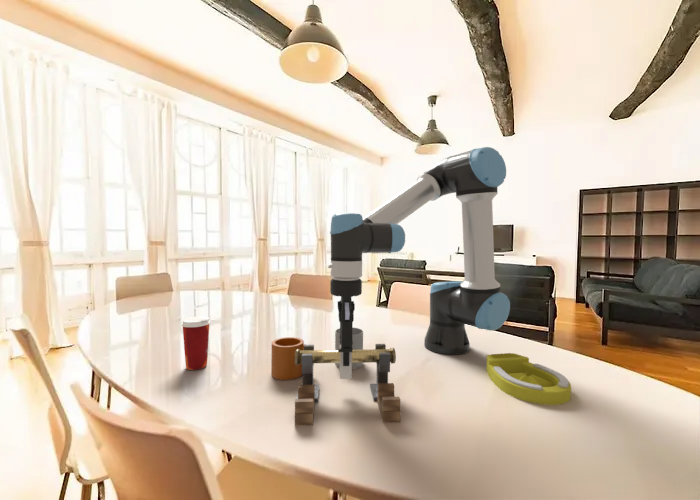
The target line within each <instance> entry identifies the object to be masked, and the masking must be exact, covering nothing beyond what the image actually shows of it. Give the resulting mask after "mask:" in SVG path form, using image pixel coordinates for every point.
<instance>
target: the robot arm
mask: <svg viewBox="0 0 700 500" xmlns="http://www.w3.org/2000/svg"><path fill="white" fill-rule="evenodd" d="M506 176H507V166H506V163H505V160H504V158H503V156H502V155H501V154H500V152H499V151H498V150H497V149H495V148H493V147H490V146H484V147H483V146H482V147H480V148H479V147H478V148H474V149H471V150H467V151H465V152H461V153H458V154H454V155H451V156H448V157H446V158H444V159H442V160H440V161H438V162H437V163H435V164H434V165H433V166H431V167H430V168H428V169H427V170H426V171H424V172H423V173H421V174H420V175H418V177H417V179H416V181H415V182H414V183H412V184H410V185H409V186H407V187H406V188H404V189H403V190H402V191H400V192H399V193H397V194H396V195H395V196H393V197H392V198H390V199H388V200H387V201H386V202H384V203H383V204H381V205H380V206H378V207H377V208H375V209H373V211H371V212H369V213H368V214H367V215H365V216H362V214H360V213H355V212H353V213H351V212H342V213H341V212H340V213H335V214H333V215H332V217H331V222H330V231H329V235H330V263H329V264H328V265H327V267H328V269H330V277H331V280H330V281H329V282H330V284H329V285H330V287H329V288H330V291H329V292H330V294H331V295H332V296H335V297H340V299H339V300H338V301H337V310H338V322H339V328H340V336H339V338H340V344H341V345H340V349H338V352H340V368H339V379H344V380H345V379H352V378H353V377H352V375H353V373H352V371H353V369H352V350H353V348H352V344H353V340H352V327H353V324H354V323H353V322H354V315H355V314H354V312H355V306H356V304H355V302H354V300H352V298H353V297H359V296H361V294H362V292H363V288H362V287H363V285H362V283H363V280H362V279H361V278H362V277H363V254H385V253H386V254H392V253H398V252H400V251H402V250H403V249H404V246H405V244H406V232H405V230H404V228H403V227H402V226H401V225H400V224H399V223H401V222H402V221H404V220H405V219H407V218H408V217H410V216H411V215H412V214H414V213H415V212H416V211H418V210H419V209H420V208H421V207H423V206H424V205H426V204H427V203H429V202H430V201H431V202H432V201H436V200H438V199H439V198H441V197H443V196H446V195H450V194H454V193H455V196H456V199H458V201H460V202H461V203H460V204H461V216H462V219H461V220H462V241H463V242H462V243H463V266H464V267H463V268H464V269H463V271H464V279H463V281H462V280H461V281H459V280H457V281H438V282H434V283H432V284H431V285H430V293H429V326H428V328H427V331H426V333H425V336H424V339H423V340H424V347H425V348H426V349H427V350H429V351H432V352H434V353H437V354H443V355H463V354H466V353H469V351H470V347H471V345H470V344H471V343H470V341H469V337H468V333H467V330H466V327H465V325H469V326H471V327H475V328H477V329H478V330H486V331H490V332H491V331H496V330H499V329H500V328H501V327H502V326H503V325H504V324H505V323H506V321H507V320H508V317H509V315H510V310H511V301H510V299H509V298H508V295H506V294H505V293H503V292H502V291H501V288H502V287H501V284H500V282H498V281H497V279H496V278H495V276H496V275H495V250H494V249H495V247H494V243H495V241H494V222H493V221H494V217H493V214H494V213H493V200H494V198H495V197H496V196H497V195H498V193H499V192H498V188H499V186H501V185H502V184H504V182H505V179H506ZM353 328H354V327H353Z"/></svg>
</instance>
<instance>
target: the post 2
mask: <svg viewBox="0 0 700 500" xmlns="http://www.w3.org/2000/svg"><path fill="white" fill-rule="evenodd" d="M386 347H387V345H386V343H375V349H387V348H386ZM375 363H376V383H369V387H370V391H371V392H370V393H371V396H372V399H373V401H374V402H377V393H378V383H389V373H390V372H391V362H390V353H379V362H375ZM394 397H396V396H395V395H394Z"/></svg>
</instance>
